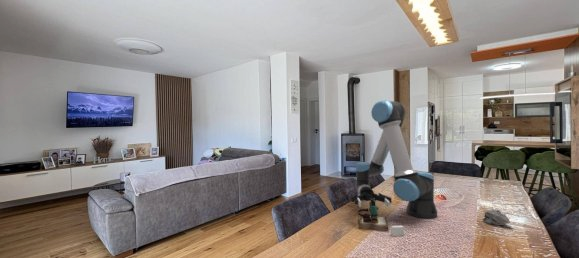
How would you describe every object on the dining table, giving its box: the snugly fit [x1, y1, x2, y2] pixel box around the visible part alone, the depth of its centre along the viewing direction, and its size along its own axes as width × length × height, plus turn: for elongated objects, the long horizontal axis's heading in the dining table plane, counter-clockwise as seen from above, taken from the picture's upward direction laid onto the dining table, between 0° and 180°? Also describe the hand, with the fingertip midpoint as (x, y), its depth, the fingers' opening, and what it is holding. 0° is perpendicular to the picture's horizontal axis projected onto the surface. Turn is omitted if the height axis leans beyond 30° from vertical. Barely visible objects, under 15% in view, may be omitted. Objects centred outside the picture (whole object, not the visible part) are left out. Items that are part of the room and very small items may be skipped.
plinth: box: [359, 215, 389, 232], centre depth 124 cm, size 13×12×3 cm
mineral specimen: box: [482, 208, 511, 226], centre depth 124 cm, size 10×8×10 cm
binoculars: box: [357, 197, 380, 223], centre depth 124 cm, size 9×11×10 cm
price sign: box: [390, 225, 405, 237], centre depth 113 cm, size 5×2×4 cm, turn 93°
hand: (374, 204), depth 122 cm, fingers open, 13 cm apart
